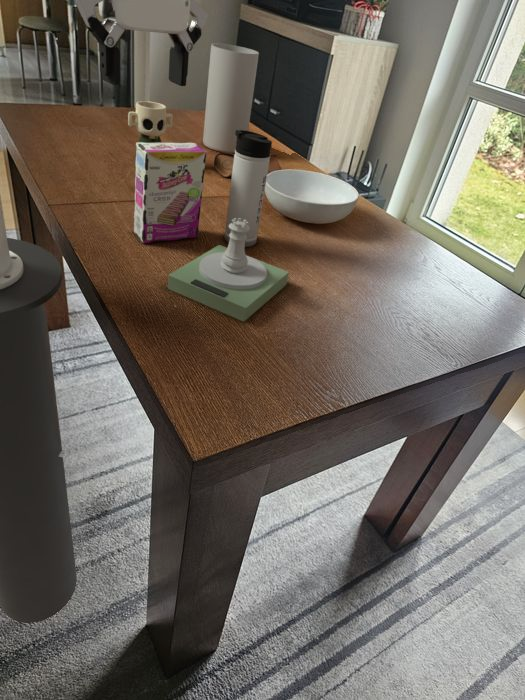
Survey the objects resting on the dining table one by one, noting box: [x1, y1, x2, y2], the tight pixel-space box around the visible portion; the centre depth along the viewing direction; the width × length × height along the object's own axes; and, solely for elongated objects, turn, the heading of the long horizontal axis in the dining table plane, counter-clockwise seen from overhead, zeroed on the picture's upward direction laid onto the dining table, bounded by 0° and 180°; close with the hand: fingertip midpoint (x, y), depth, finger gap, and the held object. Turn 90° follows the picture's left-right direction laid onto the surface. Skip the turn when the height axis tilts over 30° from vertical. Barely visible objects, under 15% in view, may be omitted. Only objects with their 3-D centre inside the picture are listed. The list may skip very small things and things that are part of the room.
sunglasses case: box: [213, 152, 283, 178], centre depth 131 cm, size 18×7×7 cm
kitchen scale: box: [167, 244, 290, 323], centre depth 82 cm, size 15×14×3 cm
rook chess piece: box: [220, 218, 250, 274], centre depth 79 cm, size 4×4×8 cm
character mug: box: [127, 100, 174, 143], centre depth 123 cm, size 11×7×13 cm, turn 117°
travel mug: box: [224, 130, 273, 248], centre depth 92 cm, size 6×7×20 cm
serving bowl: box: [264, 168, 360, 225], centre depth 112 cm, size 21×21×7 cm
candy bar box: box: [133, 141, 207, 244], centre depth 90 cm, size 11×5×16 cm, turn 122°
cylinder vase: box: [202, 42, 260, 154], centre depth 139 cm, size 12×12×25 cm
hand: (145, 83), depth 65 cm, fingers open, 9 cm apart
